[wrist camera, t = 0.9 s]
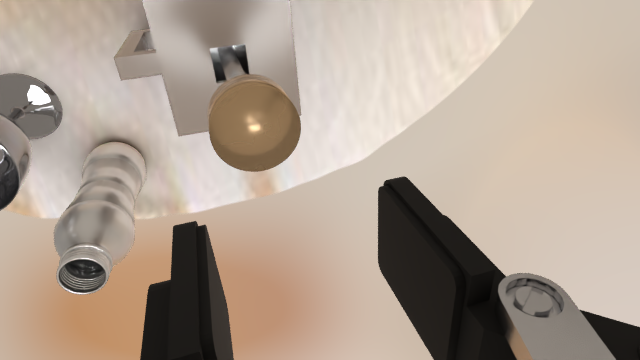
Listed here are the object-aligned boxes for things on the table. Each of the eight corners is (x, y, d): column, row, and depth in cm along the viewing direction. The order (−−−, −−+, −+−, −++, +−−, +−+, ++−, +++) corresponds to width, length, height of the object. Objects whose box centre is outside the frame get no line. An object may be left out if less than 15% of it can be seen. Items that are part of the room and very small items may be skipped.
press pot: (250, -30, 43) (288, -16, 27) (263, 60, 47) (301, 115, 32) (124, -18, 40) (85, 5, 24) (151, 75, 45) (132, 144, 29)
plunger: (259, -8, 33) (330, 35, 17) (271, 79, 37) (338, 184, 21) (167, 2, 32) (147, 59, 15) (188, 92, 35) (191, 215, 19)
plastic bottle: (152, 142, 48) (134, 245, 31) (143, 191, 51) (122, 310, 34) (91, 130, 46) (36, 235, 29) (84, 182, 48) (30, 307, 32)
